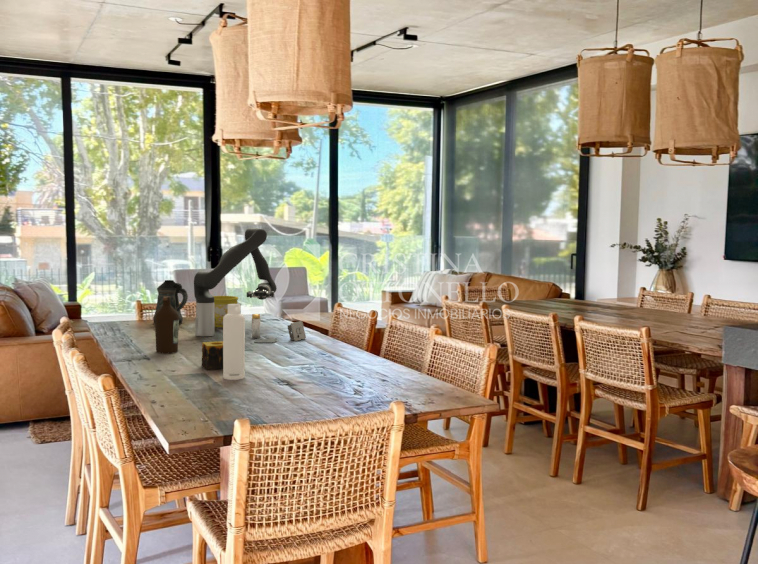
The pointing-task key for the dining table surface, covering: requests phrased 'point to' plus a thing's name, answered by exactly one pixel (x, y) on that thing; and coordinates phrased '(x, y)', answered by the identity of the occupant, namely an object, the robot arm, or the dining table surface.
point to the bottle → (233, 343)
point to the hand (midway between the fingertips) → (258, 295)
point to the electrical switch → (296, 331)
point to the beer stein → (171, 296)
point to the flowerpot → (222, 308)
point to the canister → (255, 325)
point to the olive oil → (166, 328)
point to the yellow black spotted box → (212, 355)
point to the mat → (265, 341)
